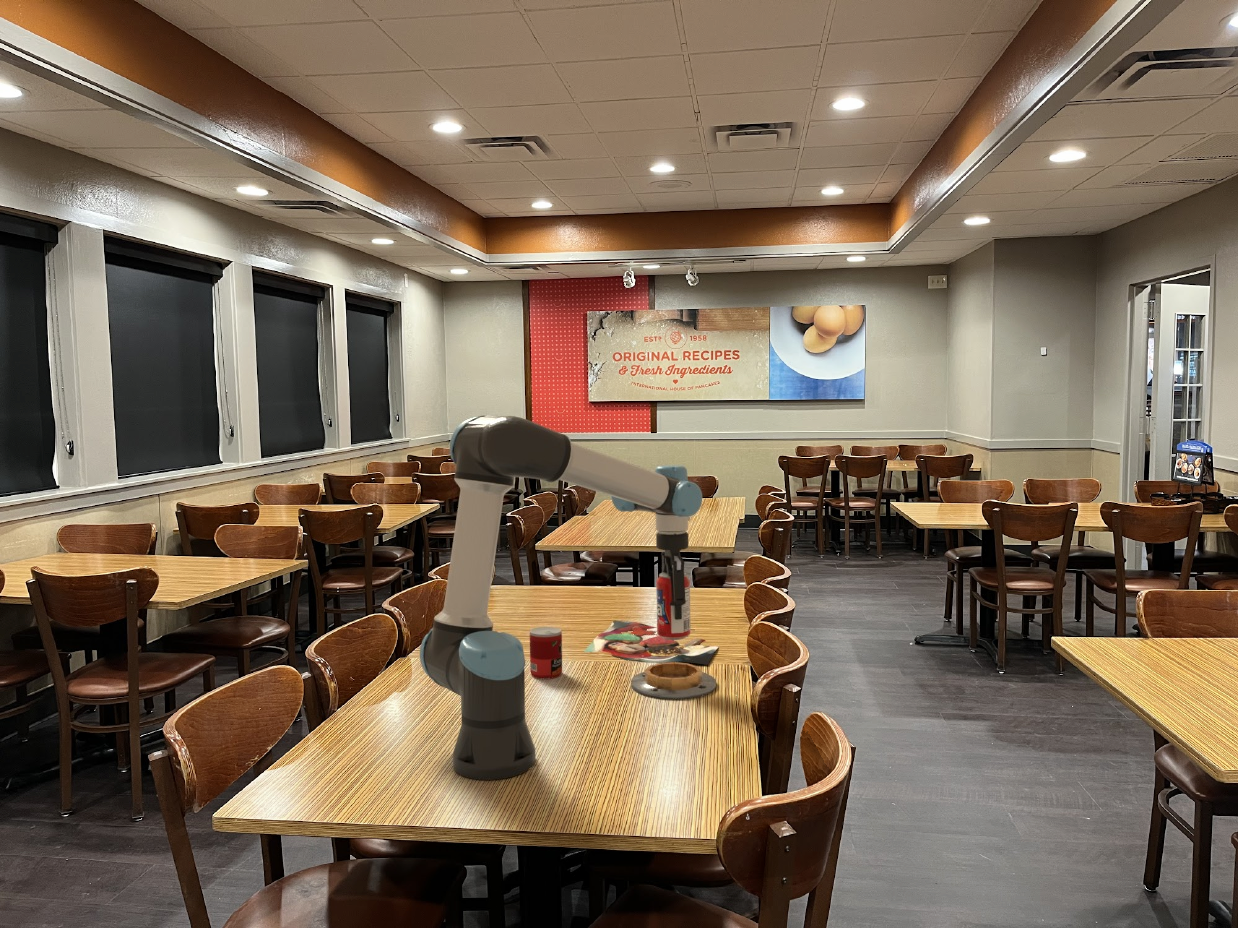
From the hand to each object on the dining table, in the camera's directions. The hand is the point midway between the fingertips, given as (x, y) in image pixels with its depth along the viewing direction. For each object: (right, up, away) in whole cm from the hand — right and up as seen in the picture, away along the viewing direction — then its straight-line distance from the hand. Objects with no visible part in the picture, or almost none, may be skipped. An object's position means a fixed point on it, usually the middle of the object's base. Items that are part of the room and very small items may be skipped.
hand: (673, 627), depth 202 cm
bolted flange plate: (0, -14, +1) cm, 14 cm away
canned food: (-31, -14, +10) cm, 35 cm away
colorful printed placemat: (-2, -12, +37) cm, 39 cm away
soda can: (0, -2, 0) cm, 2 cm away
